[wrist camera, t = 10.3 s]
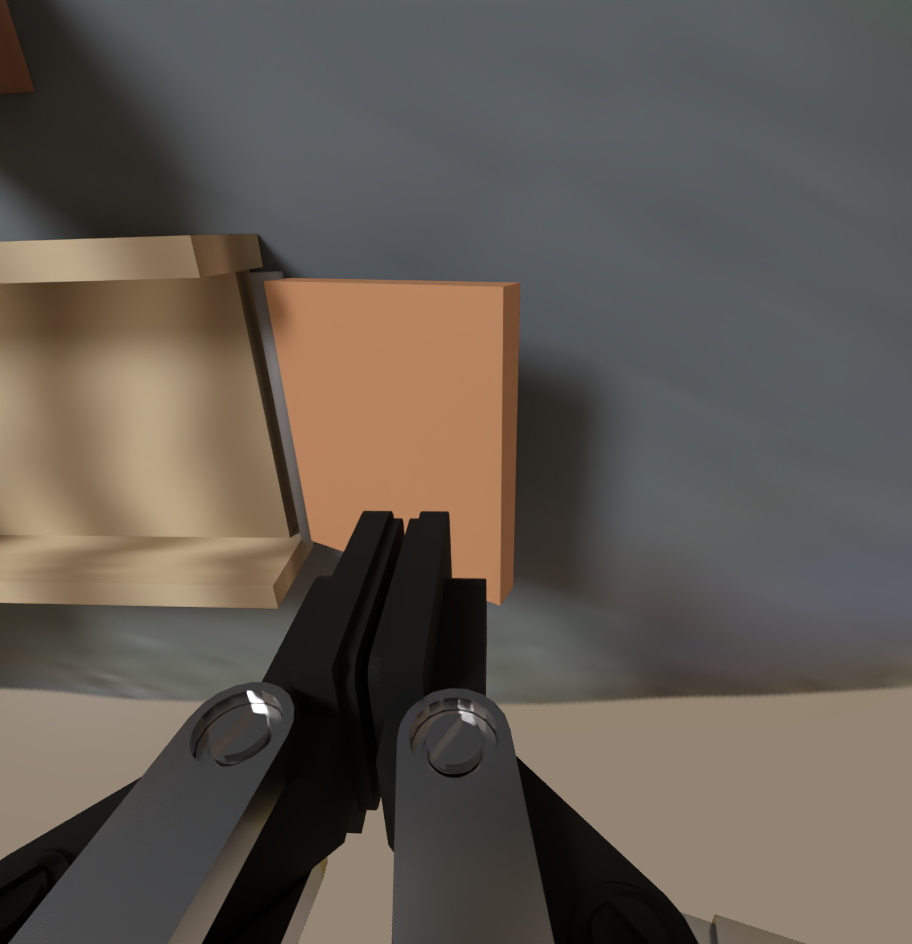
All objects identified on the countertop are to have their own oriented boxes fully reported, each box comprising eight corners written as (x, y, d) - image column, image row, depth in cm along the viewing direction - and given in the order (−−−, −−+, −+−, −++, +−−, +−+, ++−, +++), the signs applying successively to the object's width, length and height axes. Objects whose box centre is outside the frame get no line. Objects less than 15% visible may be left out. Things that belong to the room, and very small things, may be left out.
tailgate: (267, 271, 16) (520, 273, 12) (313, 526, 21) (512, 592, 17) (241, 273, 16) (503, 277, 12) (295, 539, 20) (499, 610, 16)
